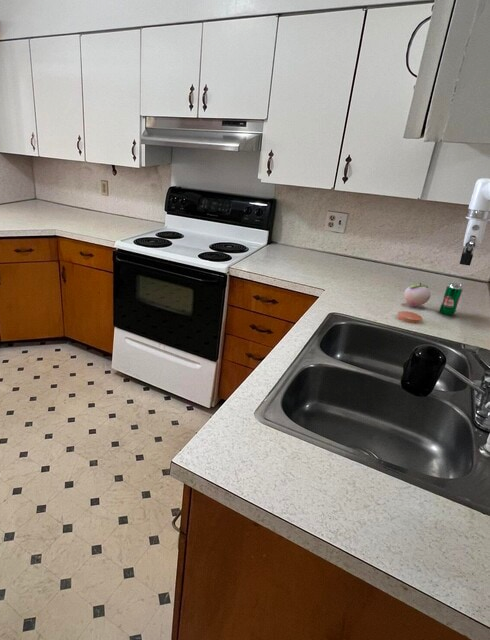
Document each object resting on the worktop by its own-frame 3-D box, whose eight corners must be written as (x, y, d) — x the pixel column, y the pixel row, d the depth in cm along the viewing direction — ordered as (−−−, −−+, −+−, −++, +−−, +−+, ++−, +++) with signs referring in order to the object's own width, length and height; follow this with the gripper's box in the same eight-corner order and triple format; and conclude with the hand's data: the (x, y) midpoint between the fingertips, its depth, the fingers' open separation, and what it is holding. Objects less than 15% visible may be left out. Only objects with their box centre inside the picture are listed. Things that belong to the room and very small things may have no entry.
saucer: (422, 318, 158) (423, 315, 158) (419, 325, 152) (420, 321, 152) (398, 312, 163) (399, 309, 162) (395, 319, 157) (396, 315, 156)
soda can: (435, 312, 165) (445, 283, 160) (443, 310, 167) (453, 281, 163) (448, 317, 161) (458, 287, 156) (456, 315, 163) (466, 286, 158)
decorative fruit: (416, 311, 164) (423, 287, 161) (397, 304, 171) (404, 280, 167) (431, 308, 168) (439, 285, 164) (412, 301, 175) (419, 278, 171)
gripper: (492, 219, 141) (477, 269, 147) (492, 213, 154) (477, 259, 160) (465, 216, 145) (451, 264, 151) (467, 211, 158) (454, 255, 164)
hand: (465, 262), depth 156 cm, fingers open, 9 cm apart
